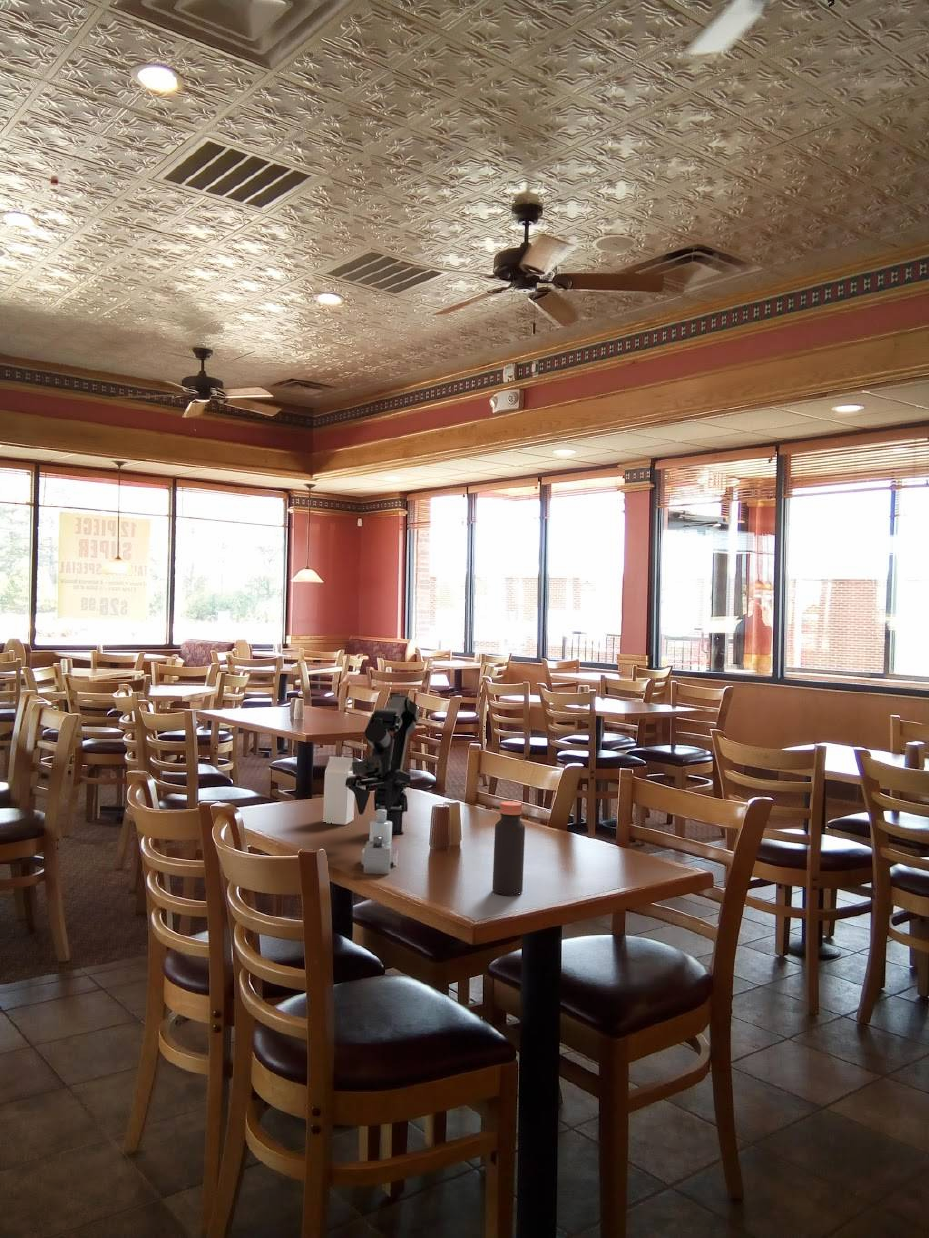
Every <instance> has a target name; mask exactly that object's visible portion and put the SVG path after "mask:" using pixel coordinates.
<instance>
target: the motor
mask: <svg viewBox="0 0 929 1238" xmlns="http://www.w3.org/2000/svg"><path fill="white" fill-rule="evenodd" d="M392 846H393V842H392V841H391V842H383V837H382V836H375V837H373V841H370V840H367V841H366V843H365V845H364V848H362V851H361V856H360V857H361V861H360V865H361V866H363V874H374V875H376V874H377V875H378V874H379V875H389V874H390V870H391V867H392V866H393V867H397V865H398V855H399V854H398V853H399V851H398V850H399V849H394V850H393V856H392ZM392 857H393V861H392Z"/></svg>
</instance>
